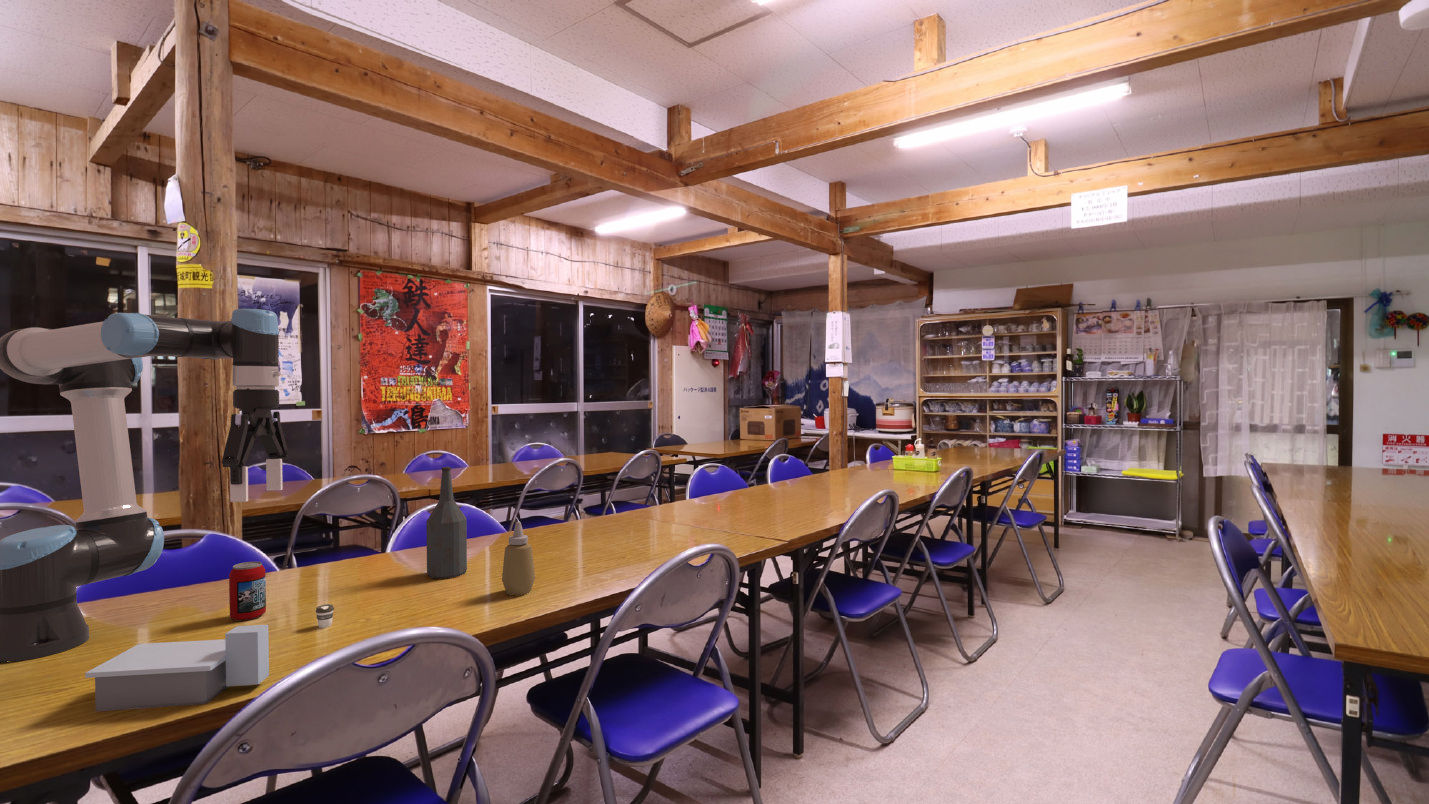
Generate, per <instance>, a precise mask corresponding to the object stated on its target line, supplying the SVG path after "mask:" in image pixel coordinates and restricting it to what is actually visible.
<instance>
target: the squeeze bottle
mask: <svg viewBox="0 0 1429 804" xmlns="http://www.w3.org/2000/svg"><path fill="white" fill-rule="evenodd" d="M522 526H523V525H522V523H521V521H516V522H515V524H514V529H513V533H512V535H510V536H508V545H506V546H505V548H504V556H503V565H502V573H501V575H502V577H501V581H502V584H503V587H504V590H505V593H506V595H508V594H509V595H508V596H511V595H519V596H522V595H521V594H525V595H528V594H529V592H530V591H531V592H532V588H533V585H534V582H535V579H536V574H535V565H534V564H535V563H534V556H533V547H532V545H531V543H529V536H528V535H526V534H524V530H523V527H522ZM531 592H530V593H531ZM527 593H528V594H527Z"/></svg>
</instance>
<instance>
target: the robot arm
mask: <svg viewBox="0 0 1429 804" xmlns="http://www.w3.org/2000/svg"><path fill="white" fill-rule="evenodd" d="M278 321H279V320H278V315H277V314H276V313H275V311H272V310H267V309H258V308H235V309H234V310H233V311H232V312H231V318H230V320H208V319H198V318H197V319H196V318H188V317H187V318H186V317H185V318H184V317H171V316H162V315H153V314H151V315H150V314H145V313H144V314H143V313H140V312H115V313H111V314H110V315H109V316H108V317H107V318H106V319H104V320H103V321H99V322H98V321H97V322H91V323H85V324H79V325H73V326H68V327H61V328H54V329H53V328H52V329H51V328H43V327H27V328H20V329H15V330H12V331H9V332H7V333H5V334H3V335H2V336H1V337H0V370H1V371H2V372H3V373H4V374H6V375H8V376H9V377H11V378H13V379H16V380H18V381H21V382H26V383H30V384H35V385H37V384H38V385H58V387H59V388H58V389H59V394H60V396H61V397H63V398H65V399H67V400H68V401H69V402H70V405H71V413H72V421H73V422H72V424H73V431H74V438H75V439H74V440H75V447H76V455H77V464H78V472H79V480H80V481H79V482H80V487H81V488H80V489H81V497H82V498H81V499H82V505H83V513H82V514H81V515H80V516H79V517H78V518H77V519H75V520H74V521H75V527H74V526H73V525H70V524H57V525H50V526H49V525H48V526H45V527H38V528H37V527H36V528H32V529H28V530H23V531H21V532H17V533H13V534H11V535H8V536H5V537H3V538H1V539H0V662H7V661H16V662H21V660H23V661H29V660H34V659H39V658H43V657H47V656H52V655H55V654H58V653H59V654H60V653H62V651H63V652H65V651H68V649H69V650H72V649H74V648H77V647H78V646H80V645H82V644H84V643H86V642H87V641H89V639H90V627H89V625H88V623H87V621H86V619H85V618H84V615H83V613H82V610H81V608H80V607H79V605H78V601H77V599H78V597H77V587H81V586H85V585H90V584H93V583H98V582H102V581H106V580H110V579H111V580H112V579H114V578H115V579H116V578H120V577H128V576H131V575H133V574H136V573H138V572H139V573H140V572H142V571H146V570H148V569H149V568H151V567H152V566H154V564H156V562H157V561H158V559H159V558H160V557H161V554H162V552H163V549H164V544H165V535H164V534H165V533H164V530H163V527H162V526H161V525H160V522H159V521H158V520H156V519H154V518H152V517H148V511H147V509H145V508H143V507H141V506H140V505H139V504H138V503H137V495H136V489H135V488H136V485H135V478H134V477H135V476H134V471H133V463H132V453H131V448H130V447H131V445H130V444H131V443H130V438H129V429H128V421H127V413H126V411H127V410H126V406H125V398H126V397H127V396H128V395H129V394H131V392H132V391H133V388H132V385H133V384H135V383H137V382H138V381H139V380H140V378H141V376H142V374H141V373H143V370H144V361H143V358H147V357H174V358H191V359H195V358H196V359H203V360H211V361H212V360H214V361H215V360H219V359H220V360H221V359H222V360H223V359H232V362H231V363H232V386H233V387H235V388H236V389H233V391H232V406H233V408H234V409H240V410H241V413H232V414H231V415H230V427H229V431H228V433H227V434H228V435H227V439H226V443H225V446H224V450H223V454H222V458H221V464H222V467H223V468H229V499H230V500H229V502H230V503H237V502H239V503H241V502H242V503H243V502H244V503H245V502H246V503H247V502H249V466H245V465H246V463H247V462H248V461H247V460H248V458H249V455H250V453H251V451H252V448H253V446H254V442H255V440H256V439H258V438H259V439H260V442H261V444H262V446H263V448H264V450H265V452H266V454H267V457H268V458H266V459H265V470H266V471H265V473H266V475H265V478H266V480H265V481H266V491H267V492H268V491H283V490H284V489H283V459H287V458H288V456H289V454H288V453H289V452H288V451H289V450H288V446H287V442H286V439H285V438H286V437H285V435H284V431H283V427H282V424H281V413H280V411H278V410H276V411H272V409H277V408H279V406H280V391H279V389H276V387H278V386H279V385H280V383H279V382H280V379H279V378H280V376H281V375H282V374H281V371H280V370H279V368H280V367H279V363H280V361H279V359H280V358H279V356H280V355H279V353H280V352H279V351H280V350H279V347H280V346H279V345H280V343H279V340H280V339H279V338H280V337H279V334H280V331H279V322H278ZM76 646H77V647H76ZM73 647H74V648H73ZM28 659H29V660H28ZM7 663H8V662H7Z"/></svg>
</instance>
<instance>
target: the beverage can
mask: <svg viewBox="0 0 1429 804" xmlns="http://www.w3.org/2000/svg"><path fill="white" fill-rule="evenodd" d="M266 573H267V572H266V568H265V566H264V565H263V563H262V561H246V562H241V563H236V564H234V565H233V566H232V569H231V570H230V572H229V574H228V589H229V591H228V592H229V601H228V603H229V617H230V619H232V620H235V621H238V622H239V621H240V622H241V621H251V620H254V619H258V618H260V617H261V616H263V615H264V614H265V613H266V612H267V585H266V583H267V576H266V575H267V574H266Z"/></svg>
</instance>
